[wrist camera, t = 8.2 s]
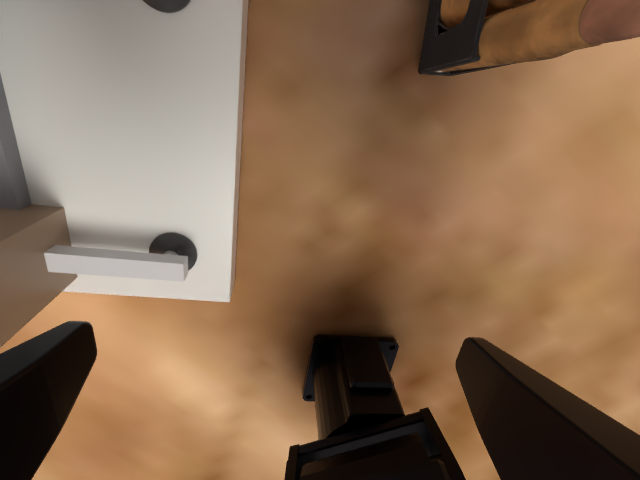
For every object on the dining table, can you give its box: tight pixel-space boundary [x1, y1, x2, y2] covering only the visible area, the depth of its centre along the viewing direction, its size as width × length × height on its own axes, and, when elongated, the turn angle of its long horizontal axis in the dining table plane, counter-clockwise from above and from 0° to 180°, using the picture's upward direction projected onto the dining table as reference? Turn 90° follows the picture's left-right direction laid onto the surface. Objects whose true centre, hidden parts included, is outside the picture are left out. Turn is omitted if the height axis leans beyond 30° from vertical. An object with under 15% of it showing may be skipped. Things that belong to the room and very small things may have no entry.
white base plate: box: [0, 0, 249, 347], centre depth 12 cm, size 20×14×8 cm
